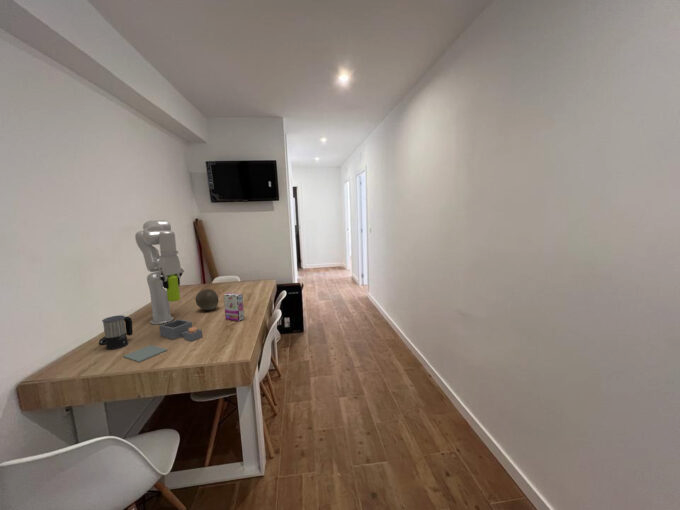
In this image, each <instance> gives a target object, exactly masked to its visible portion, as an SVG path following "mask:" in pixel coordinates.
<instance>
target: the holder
mask: <svg viewBox="0 0 680 510" xmlns="http://www.w3.org/2000/svg"><path fill="white" fill-rule="evenodd" d="M191 327H193V322H192V321H190V320H185V319H179V318H178V319H175V320H172V321H170V322H168V323H164V324H159V333H160V334H159V335H160V337H162V336H163V337H162V338H165V337H166V339H169V338H170V340H173V339H174V340H176V338H177V339H179V338H183V339H184V340H185V339H186V340H185V341H189V342H194V341H196V339H197V340H199V339H201V338H203V332H202V331H203V330H202V329H199V328H197V331H196V332H194V333H189V330H188V329H189V328H191ZM178 337H179V338H178ZM198 338H199V339H198Z"/></svg>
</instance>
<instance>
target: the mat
mask: <svg viewBox="0 0 680 510" xmlns="http://www.w3.org/2000/svg"><path fill="white" fill-rule="evenodd" d="M165 352H168V349H167V348H163V347H159V346H156V345H153V344H151V345H148V346H145V347H141V348H139V349H137V350H134V351H131V352H129V353H127V354H124V355H122V356H123V358H125V359H128V360H131V361H133V360H134V362H136V361H137V363H139V362H140V363H142V362H144V361H146V359H147V360H149V359H151V358H153V357H156V356H157V355H160V353H161V354H162V353H165ZM141 361H142V362H141Z"/></svg>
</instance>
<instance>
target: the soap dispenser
mask: <svg viewBox="0 0 680 510" xmlns="http://www.w3.org/2000/svg"><path fill="white" fill-rule="evenodd" d="M167 281H168V287H169V288H168V289H166V291H167V296H168V301H169V303H171V302H177V301H180V300H181V295H180V293H181V292H180V287H179V285H178V277H177V276H175V274H174V273H172V275H169V276H168V277H167Z"/></svg>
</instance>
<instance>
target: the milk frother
mask: <svg viewBox="0 0 680 510" xmlns="http://www.w3.org/2000/svg"><path fill="white" fill-rule="evenodd" d="M101 322H102V325H103V331H104V336H103V337H101V338H100V339H99V340H98V343H99V345H105V349H106V350H109V351H110V350H111V351H113V350H117V349H121V348H123V347H126V346H128V344H129V342H128V337H127V336H132V335H133V333H134V332H133V321H132V318H131V317H130V316H125V315H119V314H118V315H114V316H109V317H106V318H103V319H101Z"/></svg>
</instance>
